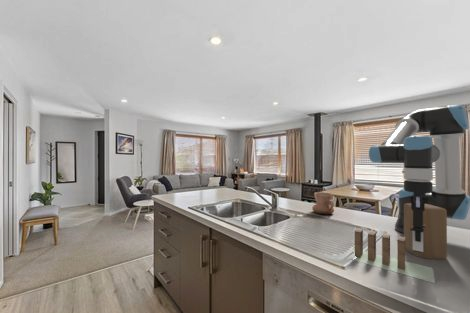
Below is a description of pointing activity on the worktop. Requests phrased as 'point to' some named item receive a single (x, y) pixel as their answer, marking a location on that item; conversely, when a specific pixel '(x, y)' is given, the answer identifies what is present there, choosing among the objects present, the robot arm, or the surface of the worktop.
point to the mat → (410, 268)
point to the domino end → (358, 242)
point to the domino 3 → (401, 252)
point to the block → (428, 232)
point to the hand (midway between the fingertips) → (417, 247)
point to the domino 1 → (371, 246)
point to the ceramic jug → (323, 203)
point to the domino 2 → (386, 249)
